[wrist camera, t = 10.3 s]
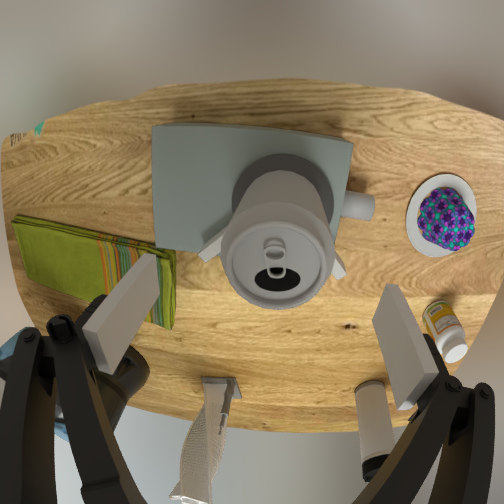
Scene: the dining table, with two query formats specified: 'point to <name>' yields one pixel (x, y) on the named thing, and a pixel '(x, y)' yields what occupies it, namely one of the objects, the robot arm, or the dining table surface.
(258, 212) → the can
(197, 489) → the skyscraper
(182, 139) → the gearbox
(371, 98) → the dining table surface
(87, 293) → the dish towel
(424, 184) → the pudding
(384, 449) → the travel mug
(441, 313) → the supplement bottle
